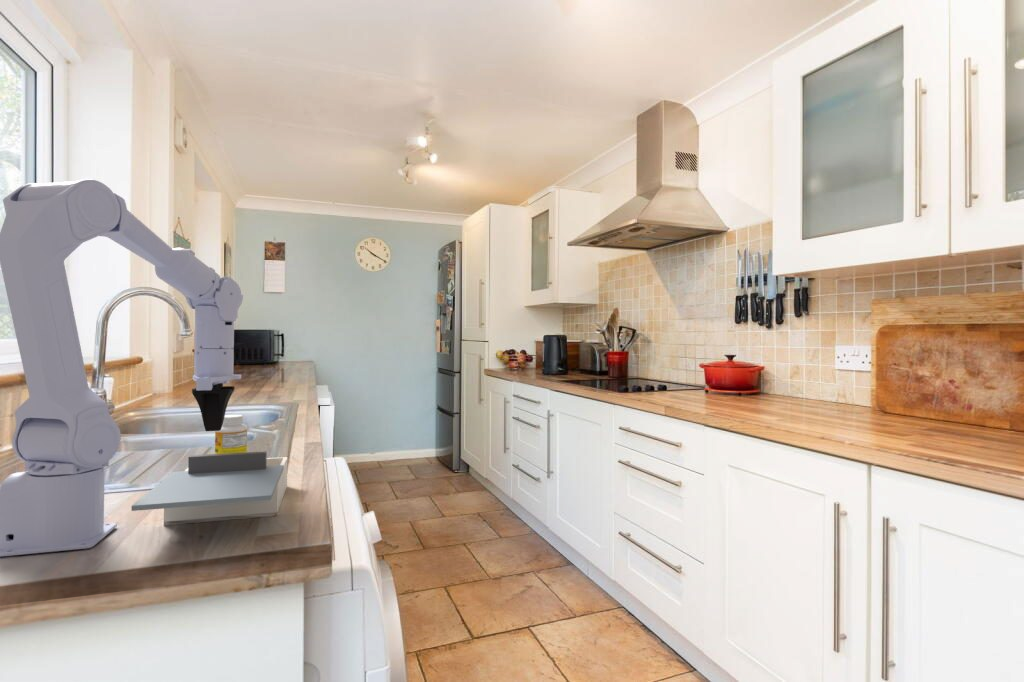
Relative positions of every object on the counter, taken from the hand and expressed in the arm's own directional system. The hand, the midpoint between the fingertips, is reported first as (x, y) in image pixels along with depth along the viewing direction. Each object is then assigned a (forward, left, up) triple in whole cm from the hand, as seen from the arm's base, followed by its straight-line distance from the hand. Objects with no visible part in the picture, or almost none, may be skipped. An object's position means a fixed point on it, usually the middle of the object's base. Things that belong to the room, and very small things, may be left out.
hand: (213, 430), depth 88 cm
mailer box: (+4, -9, -10) cm, 14 cm away
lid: (+4, -20, -5) cm, 21 cm away
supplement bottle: (0, +16, -10) cm, 19 cm away
